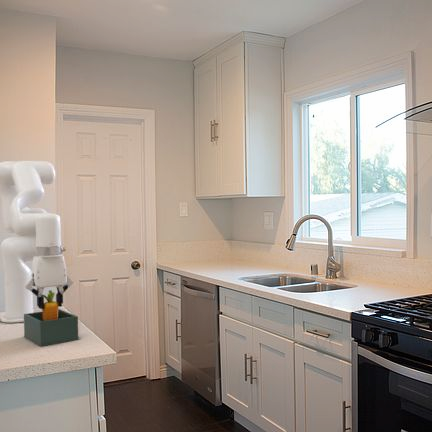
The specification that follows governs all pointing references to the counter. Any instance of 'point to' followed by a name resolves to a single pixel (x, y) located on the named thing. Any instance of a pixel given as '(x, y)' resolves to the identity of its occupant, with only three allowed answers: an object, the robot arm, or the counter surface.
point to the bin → (50, 328)
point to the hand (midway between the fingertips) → (50, 306)
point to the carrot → (50, 308)
